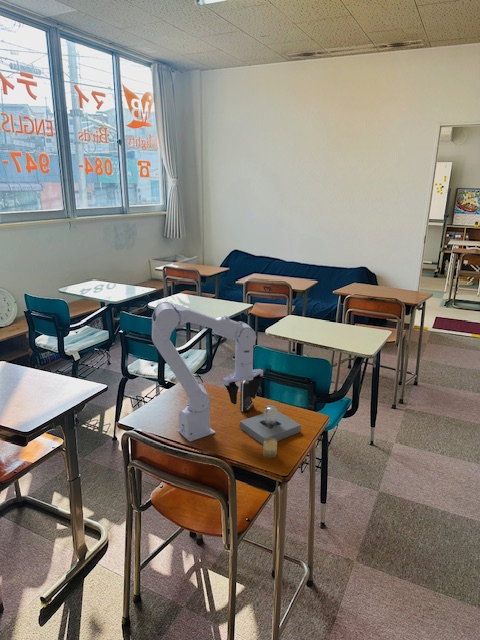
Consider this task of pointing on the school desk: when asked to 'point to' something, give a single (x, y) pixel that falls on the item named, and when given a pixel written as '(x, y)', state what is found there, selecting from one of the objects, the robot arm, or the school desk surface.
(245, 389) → the battery charger
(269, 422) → the long pin
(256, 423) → the hole board
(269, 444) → the short pin
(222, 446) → the school desk surface
